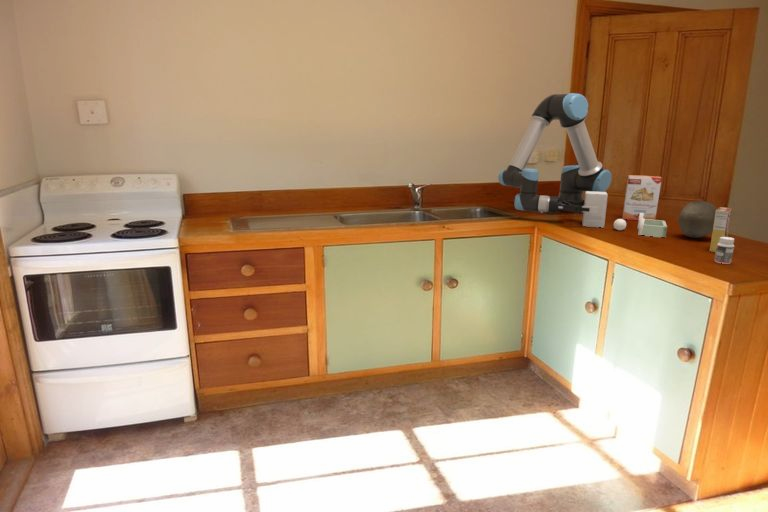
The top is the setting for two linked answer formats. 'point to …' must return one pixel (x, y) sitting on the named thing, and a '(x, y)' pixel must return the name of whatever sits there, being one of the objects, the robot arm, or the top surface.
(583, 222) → the supplement box
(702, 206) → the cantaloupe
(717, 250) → the pill bottle
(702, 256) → the top surface
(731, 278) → the top surface
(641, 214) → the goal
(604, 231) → the top surface
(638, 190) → the cracker box
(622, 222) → the ball
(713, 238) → the candy box
